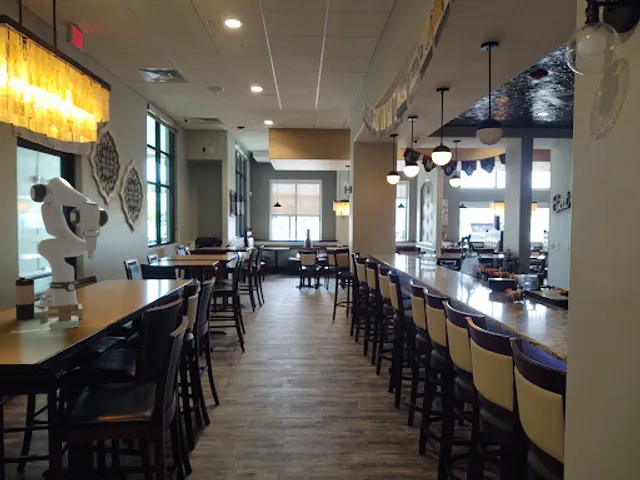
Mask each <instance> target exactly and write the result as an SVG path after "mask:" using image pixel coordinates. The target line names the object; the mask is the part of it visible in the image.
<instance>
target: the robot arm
mask: <svg viewBox="0 0 640 480" xmlns="http://www.w3.org/2000/svg"><path fill="white" fill-rule="evenodd" d="M29 196H30V199H31V200H32V201H33V202H35V203H42V204H41V206H40V210H41V211H40V212H41V213H40V214H41V217H42V222H43V226H44V229H45V232H46V233H47V234H48V235H49V236H51V238H45V239H42V240H40V242H38V244H37V252H38V254H39V255H40V256H41V258H43V259H45V261H47V262H48V264H49V266H50V269H51V282H49V283H48V286H49V287H48V289H46V291H45V292H44V293H42V294H41V295H40V299H39V302H38V303H35V305H34V307H39V308H45V306H51V305H58V304H79V303H78V299H77V292H76V289H75V287H76V281H75V268H74V266H73V265H72V264H69V263H67V262H66V261H65V260H66V259H65V258H71V257H72V258H73V257H79V256H83V255H84V254H85V253H86V251H87V259H88V261H93V260H94V252H96V250H97V243H98V242H97V241H98V237H100V236H101V228H102V227H104V226H105V225H106V224H107V223H108V222H109V215H108V213H107V211H106V210H105V209H104V208H101V207H100V206H99V204H98V203H97V202H94V201H93V200H92V199H90V198H89V197H87V196H86V195H85V194H83V193H81V192H80V191H78V190H76V189H75V188H74V187H73V186H72V185H71V184H70V182H68V181H67V180H66V179H64V178H63V177H59V176H56V177H53V178H50V180H49V181H48V183H35V184H33V185H31V187H30V189H29ZM62 206H66V207H75V208H73V209H72V210H71V211H70V213H69V222H70V223H71V224H72V225H73V226H75V227H80V237H79V236H78V235H76V234H75V233H73V231H72V230H71V229H70V227H69V225H68V223H67V220H66V218H65V215H64V212H63V209H62ZM52 237H53V238H52ZM81 237H83V239H82V238H81Z"/></svg>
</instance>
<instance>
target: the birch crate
mask: <svg viewBox="0 0 640 480" xmlns="http://www.w3.org/2000/svg"><path fill="white" fill-rule="evenodd" d="M43 308H44V307H43ZM71 317H78V320H82V319H83V305H82V303H80V302H79V303H77V304H71ZM54 318H58V305H51V306H45V308H44V309H43V322H44V323H48V322H49V323H51V319H54Z"/></svg>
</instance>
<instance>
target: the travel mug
mask: <svg viewBox="0 0 640 480" xmlns="http://www.w3.org/2000/svg"><path fill="white" fill-rule="evenodd" d="M35 301H36V300H35V279H33V278H23V279H22V278H21V279H16V280H15V318H16V321H30V320H34V319H35V304H36V303H35Z"/></svg>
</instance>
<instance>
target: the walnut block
mask: <svg viewBox="0 0 640 480" xmlns="http://www.w3.org/2000/svg"><path fill="white" fill-rule="evenodd" d="M58 319H59V321H69V320H71V304H58Z"/></svg>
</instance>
